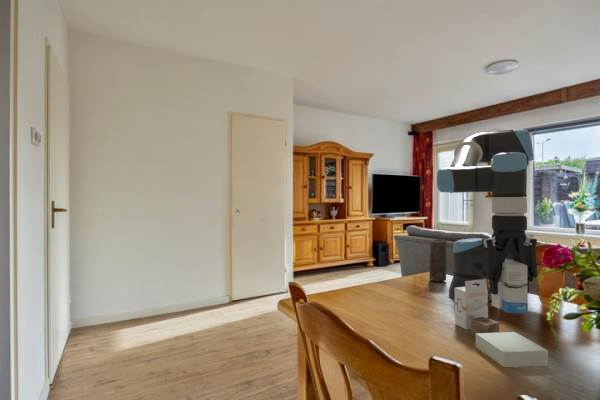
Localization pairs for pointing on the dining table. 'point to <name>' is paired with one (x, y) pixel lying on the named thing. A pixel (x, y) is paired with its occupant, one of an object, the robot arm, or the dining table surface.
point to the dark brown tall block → (438, 260)
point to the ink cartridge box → (470, 302)
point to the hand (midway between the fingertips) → (509, 306)
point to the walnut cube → (483, 326)
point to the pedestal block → (511, 349)
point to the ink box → (514, 287)
